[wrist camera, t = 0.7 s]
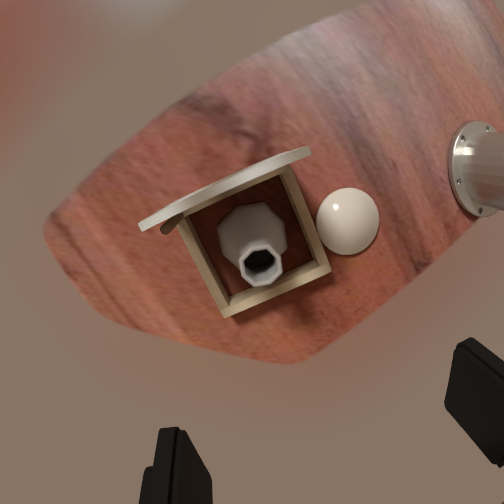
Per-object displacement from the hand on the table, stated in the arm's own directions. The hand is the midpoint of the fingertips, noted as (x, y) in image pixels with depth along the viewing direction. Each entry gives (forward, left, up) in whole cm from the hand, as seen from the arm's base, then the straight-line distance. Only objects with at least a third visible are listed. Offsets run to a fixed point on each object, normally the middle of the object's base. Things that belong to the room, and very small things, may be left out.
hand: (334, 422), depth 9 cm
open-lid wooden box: (+1, -1, -25) cm, 25 cm away
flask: (+1, -1, -25) cm, 25 cm away
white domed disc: (-9, +2, -25) cm, 27 cm away
